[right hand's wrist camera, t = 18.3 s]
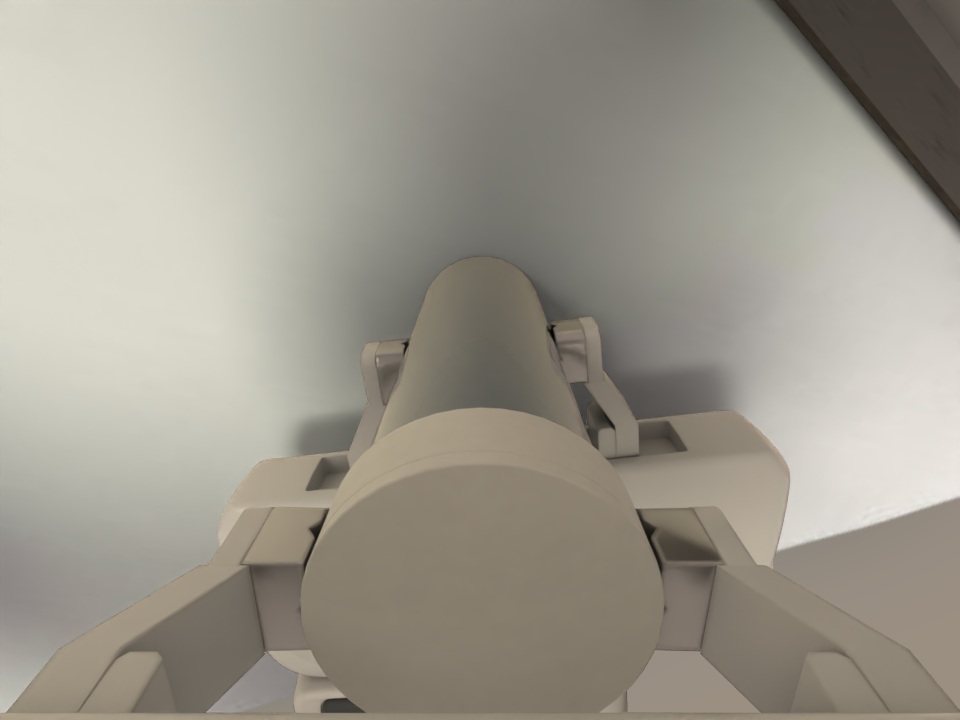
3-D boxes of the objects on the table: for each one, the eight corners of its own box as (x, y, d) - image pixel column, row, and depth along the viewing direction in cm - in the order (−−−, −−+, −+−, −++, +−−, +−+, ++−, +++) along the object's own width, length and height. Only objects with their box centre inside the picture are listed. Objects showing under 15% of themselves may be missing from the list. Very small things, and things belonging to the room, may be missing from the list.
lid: (264, 524, 10) (222, 597, 9) (510, 341, 9) (517, 386, 7) (460, 700, 12) (456, 790, 10) (694, 565, 11) (733, 643, 9)
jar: (451, 236, 23) (397, 407, 8) (560, 286, 24) (693, 527, 9) (405, 341, 25) (290, 644, 10) (508, 385, 26) (547, 729, 11)
